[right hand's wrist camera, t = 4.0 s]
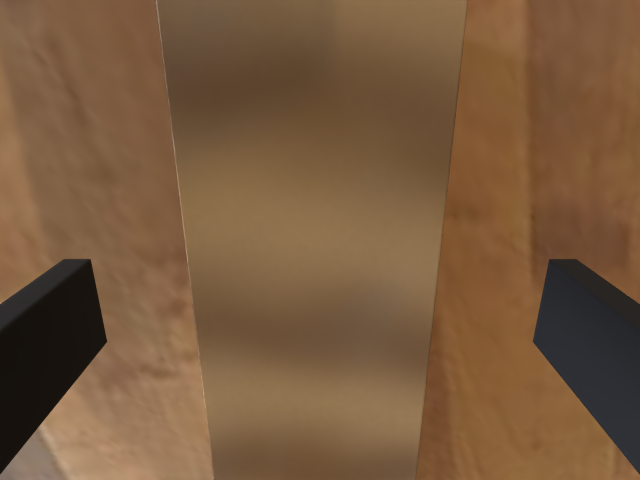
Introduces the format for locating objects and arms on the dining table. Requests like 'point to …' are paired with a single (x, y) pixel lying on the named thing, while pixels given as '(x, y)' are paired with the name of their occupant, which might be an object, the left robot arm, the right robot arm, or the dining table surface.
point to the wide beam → (313, 222)
